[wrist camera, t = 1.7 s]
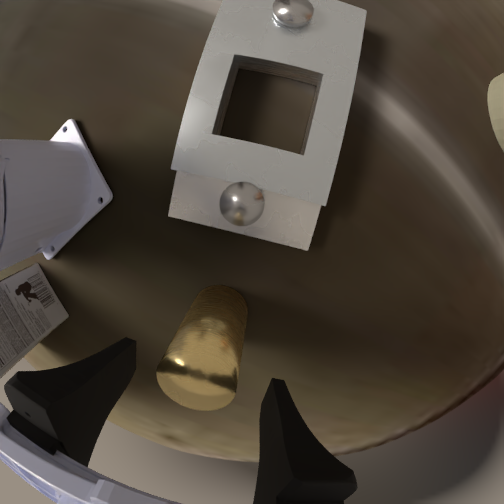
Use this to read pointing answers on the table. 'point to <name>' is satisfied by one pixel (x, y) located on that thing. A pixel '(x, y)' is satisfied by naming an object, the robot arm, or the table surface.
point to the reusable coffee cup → (497, 107)
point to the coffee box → (26, 314)
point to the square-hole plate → (256, 155)
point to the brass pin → (206, 351)
